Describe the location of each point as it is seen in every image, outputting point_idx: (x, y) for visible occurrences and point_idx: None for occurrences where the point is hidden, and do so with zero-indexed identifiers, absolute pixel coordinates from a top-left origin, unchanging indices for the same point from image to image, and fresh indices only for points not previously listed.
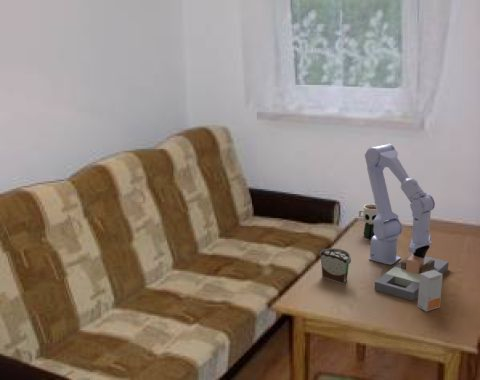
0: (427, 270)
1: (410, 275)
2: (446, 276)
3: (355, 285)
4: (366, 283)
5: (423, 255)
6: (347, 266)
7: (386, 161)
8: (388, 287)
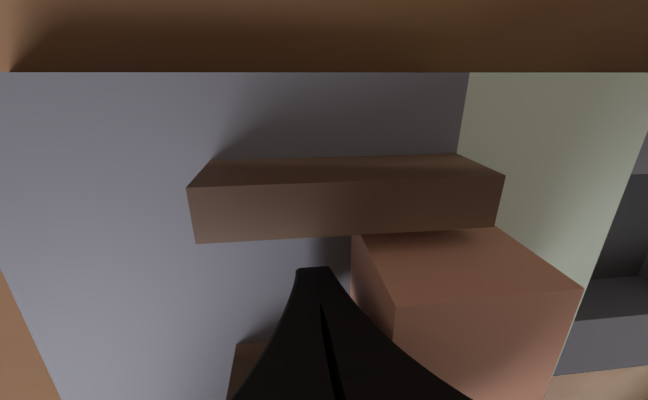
0: (405, 161)
1: (524, 245)
2: (178, 16)
3: (605, 393)
4: (569, 375)
5: (370, 350)
6: None
7: None
8: None
